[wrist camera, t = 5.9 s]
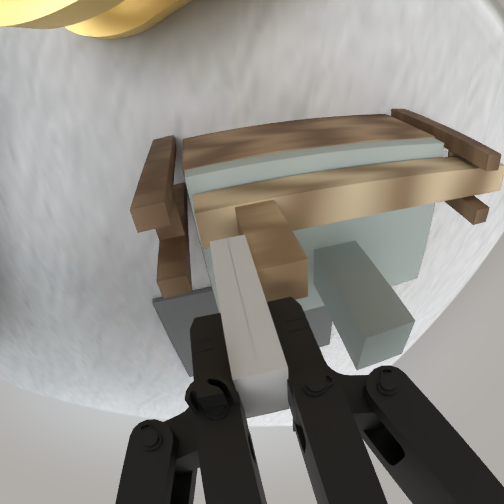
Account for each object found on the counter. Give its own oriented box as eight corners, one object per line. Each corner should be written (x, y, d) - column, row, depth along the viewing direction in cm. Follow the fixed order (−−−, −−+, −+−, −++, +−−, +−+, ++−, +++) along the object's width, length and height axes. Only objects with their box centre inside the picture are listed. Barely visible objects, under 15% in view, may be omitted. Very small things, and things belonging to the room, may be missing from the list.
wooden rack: (189, 272, 30) (199, 376, 21) (153, 140, 22) (130, 210, 13) (393, 227, 33) (457, 298, 23) (404, 109, 24) (501, 154, 15)
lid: (222, 318, 25) (242, 420, 18) (184, 170, 17) (187, 269, 10) (410, 270, 27) (465, 341, 19) (433, 137, 19) (527, 194, 12)
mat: (189, 373, 41) (189, 376, 40) (152, 299, 32) (152, 303, 31) (327, 341, 42) (329, 344, 42) (335, 259, 33) (337, 262, 33)
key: (200, 228, 18) (212, 320, 12) (192, 195, 17) (200, 280, 11) (482, 178, 20) (542, 223, 14) (487, 154, 19) (551, 196, 13)
